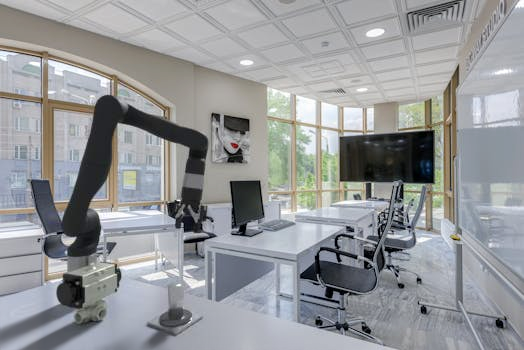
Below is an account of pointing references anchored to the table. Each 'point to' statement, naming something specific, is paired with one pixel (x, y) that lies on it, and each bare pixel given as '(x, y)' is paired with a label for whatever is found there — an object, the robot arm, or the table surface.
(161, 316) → the flange
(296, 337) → the table surface
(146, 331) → the table surface
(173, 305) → the grey cylinder
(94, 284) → the ball valve
